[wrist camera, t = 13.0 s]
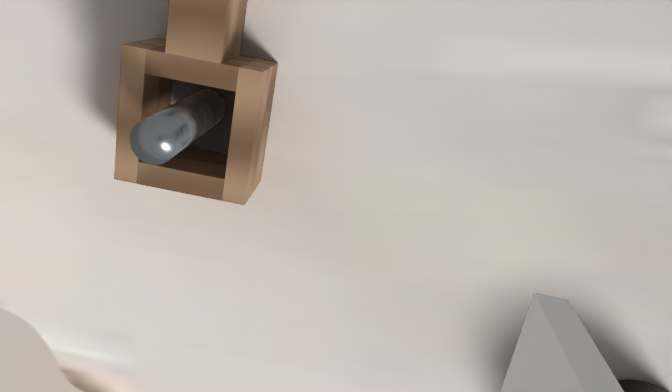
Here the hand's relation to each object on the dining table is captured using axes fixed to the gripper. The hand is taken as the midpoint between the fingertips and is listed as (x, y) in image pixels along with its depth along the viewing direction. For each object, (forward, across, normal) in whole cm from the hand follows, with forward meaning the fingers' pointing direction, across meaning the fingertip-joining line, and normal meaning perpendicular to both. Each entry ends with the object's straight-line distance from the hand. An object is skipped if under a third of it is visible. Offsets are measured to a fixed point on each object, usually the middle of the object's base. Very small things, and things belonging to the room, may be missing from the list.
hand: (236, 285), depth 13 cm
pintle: (+27, -8, -2) cm, 28 cm away
